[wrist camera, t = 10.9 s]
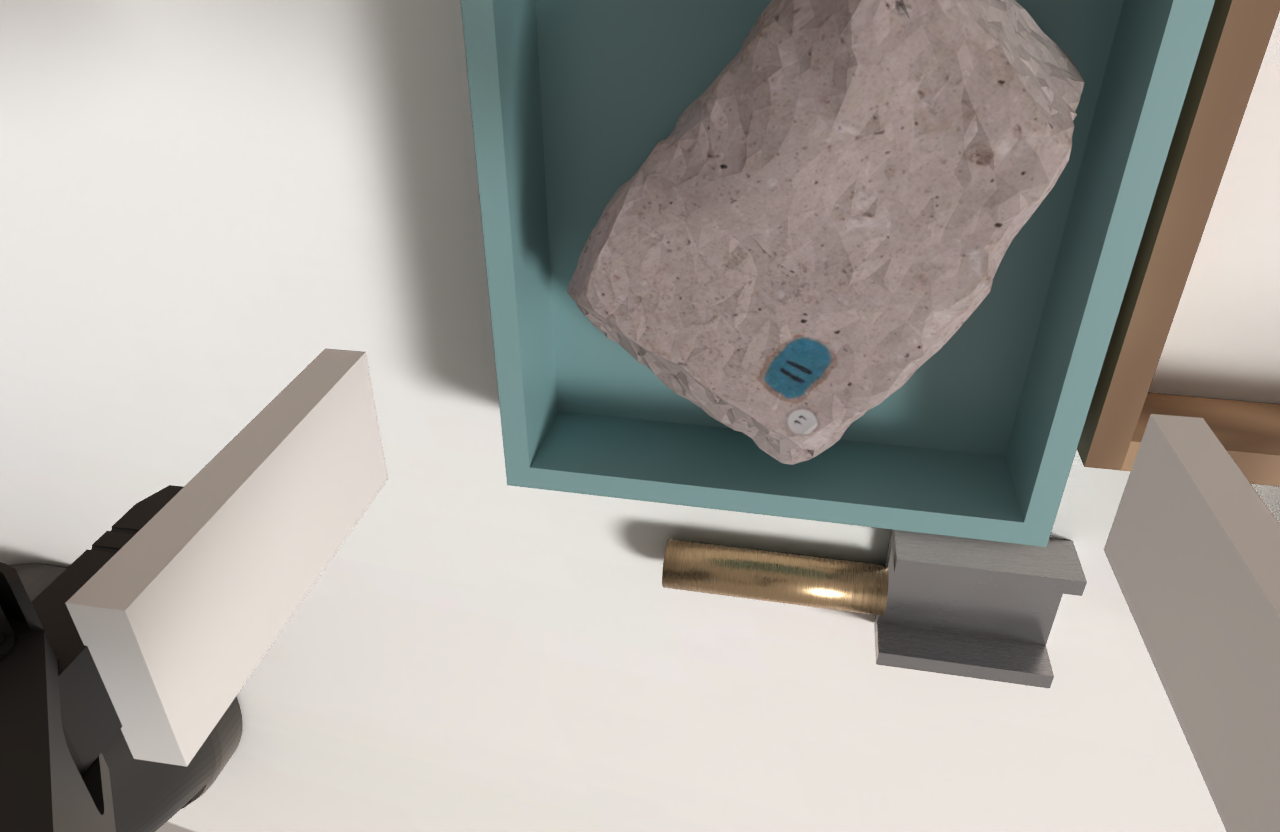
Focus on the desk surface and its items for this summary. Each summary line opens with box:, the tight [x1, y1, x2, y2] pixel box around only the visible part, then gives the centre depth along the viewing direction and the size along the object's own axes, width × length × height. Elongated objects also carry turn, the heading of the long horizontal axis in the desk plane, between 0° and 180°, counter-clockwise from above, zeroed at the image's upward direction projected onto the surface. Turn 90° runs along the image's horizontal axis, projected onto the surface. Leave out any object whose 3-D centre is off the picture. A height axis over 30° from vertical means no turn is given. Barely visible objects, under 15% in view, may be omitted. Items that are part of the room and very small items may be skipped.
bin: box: [461, 0, 1215, 547], centre depth 25 cm, size 17×18×4 cm
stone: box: [567, 0, 1084, 465], centre depth 23 cm, size 13×10×6 cm
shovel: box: [662, 529, 1087, 688], centre depth 32 cm, size 14×5×2 cm, turn 90°
